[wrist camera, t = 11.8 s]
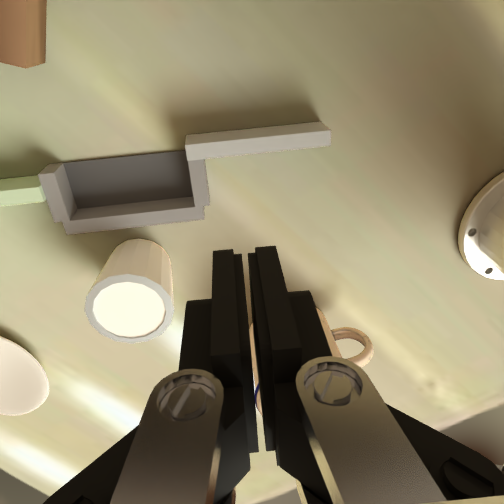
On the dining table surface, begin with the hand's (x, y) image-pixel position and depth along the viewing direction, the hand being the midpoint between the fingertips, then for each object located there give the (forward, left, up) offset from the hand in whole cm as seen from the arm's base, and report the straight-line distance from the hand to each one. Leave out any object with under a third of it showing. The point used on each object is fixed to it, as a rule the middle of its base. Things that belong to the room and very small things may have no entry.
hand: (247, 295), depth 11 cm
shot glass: (+9, +13, -25) cm, 29 cm away
